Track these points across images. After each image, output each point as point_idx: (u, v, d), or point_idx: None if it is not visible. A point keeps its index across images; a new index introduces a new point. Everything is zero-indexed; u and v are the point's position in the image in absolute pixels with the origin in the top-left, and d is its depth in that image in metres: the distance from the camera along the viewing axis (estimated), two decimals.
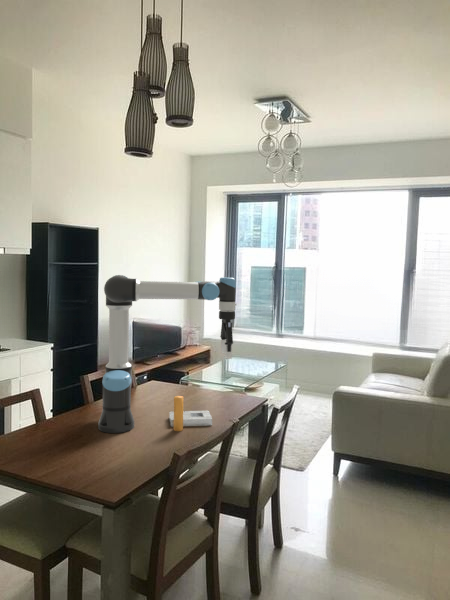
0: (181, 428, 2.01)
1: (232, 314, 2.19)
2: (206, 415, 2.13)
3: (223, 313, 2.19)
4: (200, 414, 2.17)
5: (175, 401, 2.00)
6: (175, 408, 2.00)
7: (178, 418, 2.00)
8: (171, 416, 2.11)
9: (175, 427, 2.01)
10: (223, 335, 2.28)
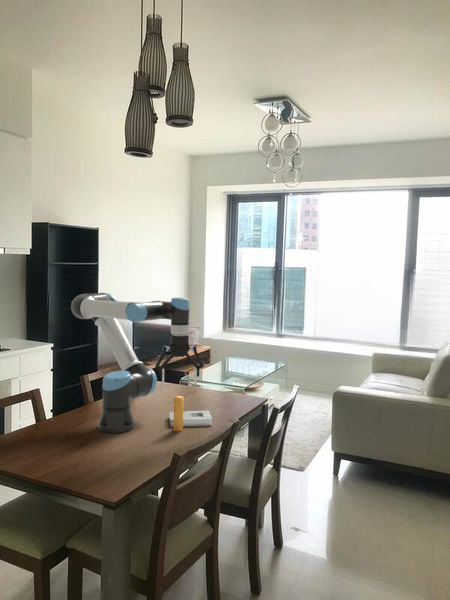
0: (181, 428, 2.01)
1: (172, 338, 1.97)
2: (206, 415, 2.13)
3: None
4: (200, 414, 2.17)
5: (175, 401, 2.00)
6: (175, 408, 2.00)
7: (178, 418, 2.00)
8: (171, 416, 2.11)
9: (175, 427, 2.01)
10: None
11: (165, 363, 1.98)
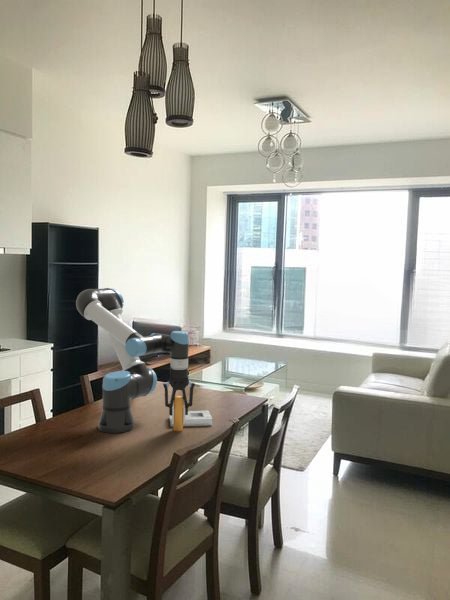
0: (181, 428, 2.01)
1: (172, 372, 1.98)
2: (206, 415, 2.13)
3: None
4: (200, 414, 2.17)
5: (175, 401, 2.00)
6: (175, 408, 2.00)
7: (178, 418, 2.00)
8: (171, 416, 2.11)
9: (175, 427, 2.01)
10: None
11: (172, 400, 2.00)
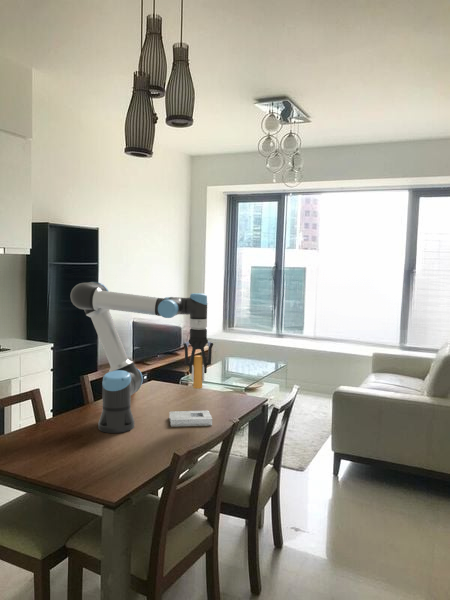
0: (200, 386, 2.11)
1: (191, 332, 2.08)
2: (206, 415, 2.13)
3: None
4: (200, 414, 2.17)
5: (195, 360, 2.10)
6: (195, 366, 2.10)
7: (198, 376, 2.10)
8: (171, 416, 2.11)
9: (195, 385, 2.11)
10: None
11: (192, 359, 2.10)
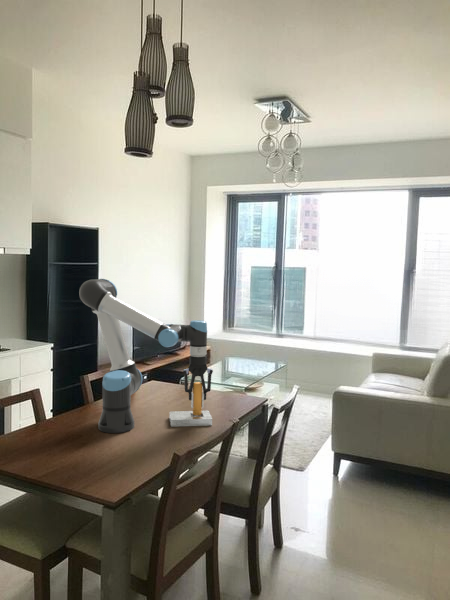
0: (200, 412, 2.12)
1: (191, 359, 2.10)
2: (206, 415, 2.13)
3: None
4: None
5: (194, 387, 2.11)
6: (194, 393, 2.11)
7: (197, 403, 2.11)
8: (171, 416, 2.11)
9: (194, 411, 2.12)
10: (202, 385, 2.14)
11: (191, 386, 2.11)
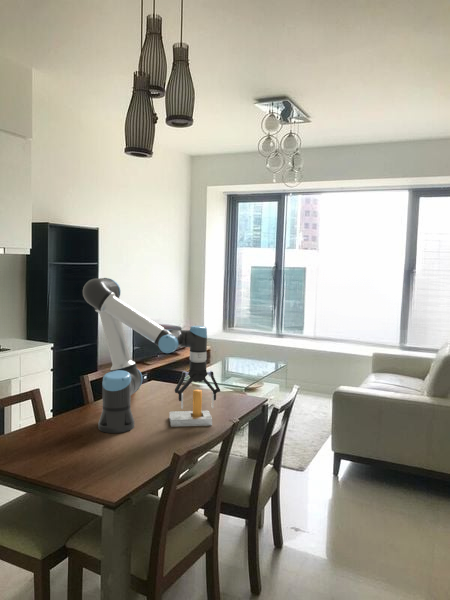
0: None
1: (191, 365, 2.10)
2: (206, 415, 2.13)
3: None
4: None
5: (194, 394, 2.12)
6: (194, 401, 2.12)
7: (197, 411, 2.12)
8: (171, 416, 2.11)
9: None
10: None
11: (184, 388, 2.11)
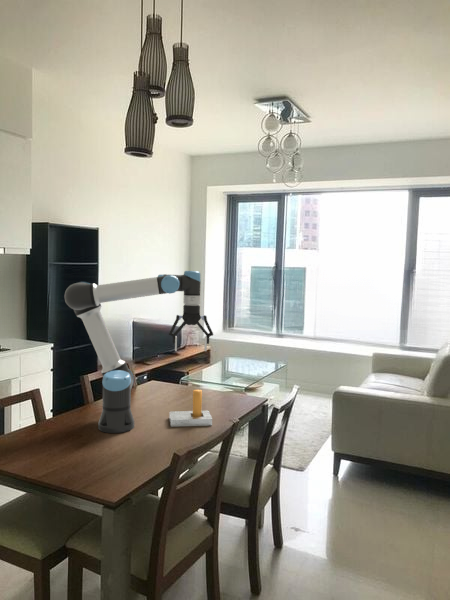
0: None
1: (185, 308, 2.16)
2: (206, 415, 2.13)
3: None
4: None
5: (194, 394, 2.12)
6: (194, 401, 2.12)
7: (197, 411, 2.12)
8: (171, 416, 2.11)
9: None
10: None
11: (178, 330, 2.17)
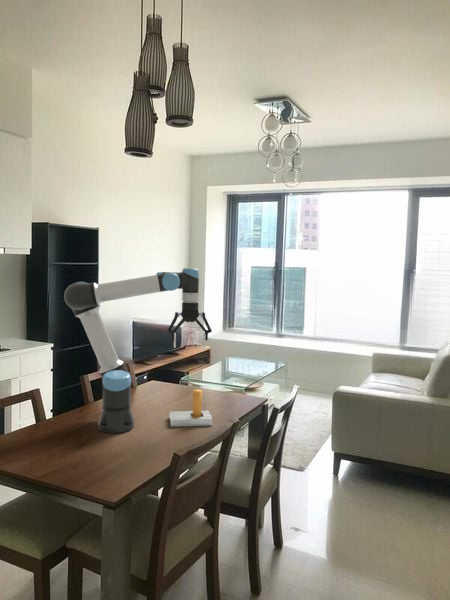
0: None
1: (183, 305, 2.17)
2: (206, 415, 2.13)
3: None
4: None
5: (194, 394, 2.12)
6: (194, 401, 2.12)
7: (197, 411, 2.12)
8: (171, 416, 2.11)
9: None
10: None
11: (177, 327, 2.18)
